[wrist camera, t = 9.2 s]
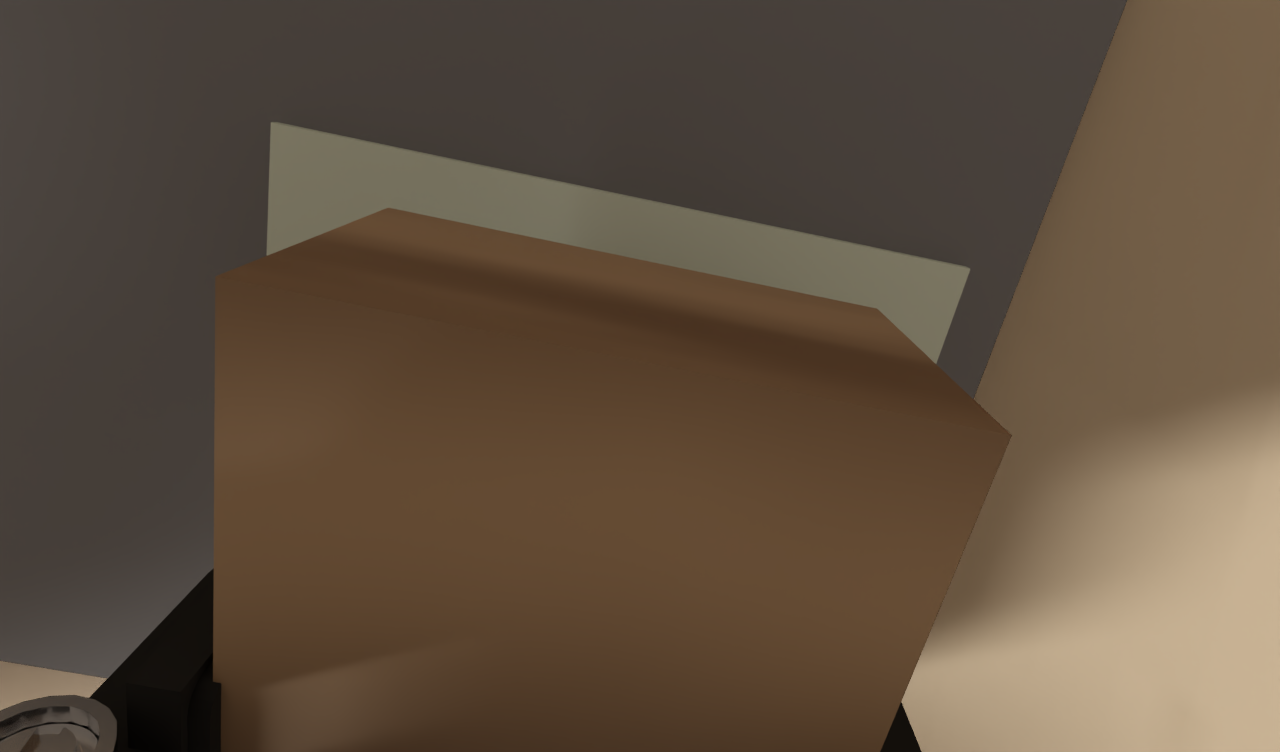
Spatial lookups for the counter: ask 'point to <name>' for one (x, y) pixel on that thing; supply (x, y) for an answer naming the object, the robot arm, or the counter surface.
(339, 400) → the brown rectangular block
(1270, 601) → the counter surface
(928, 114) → the mat
